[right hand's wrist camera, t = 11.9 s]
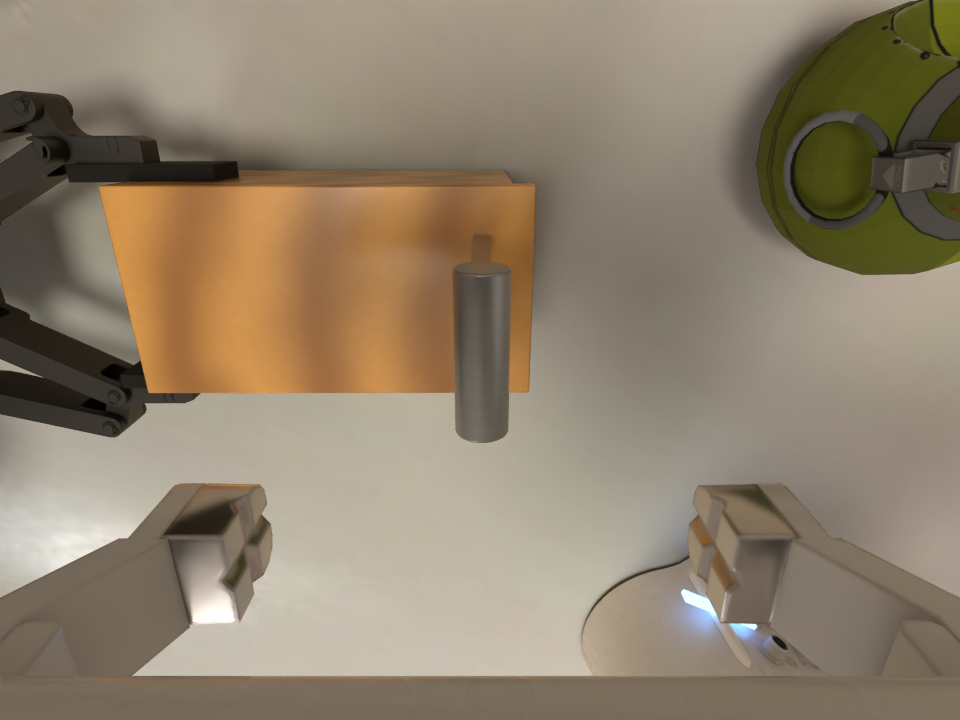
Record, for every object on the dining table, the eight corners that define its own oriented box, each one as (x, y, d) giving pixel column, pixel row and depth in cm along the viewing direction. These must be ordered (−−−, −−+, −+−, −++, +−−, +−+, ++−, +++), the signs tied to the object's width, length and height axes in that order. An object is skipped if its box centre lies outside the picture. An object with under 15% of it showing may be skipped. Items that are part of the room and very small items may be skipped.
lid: (534, 183, 24) (562, 208, 16) (527, 383, 28) (548, 490, 19) (112, 183, 24) (-79, 209, 16) (159, 384, 28) (23, 491, 19)
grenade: (948, 3, 29) (1369, -115, 15) (921, 231, 34) (1230, 300, 20) (712, 48, 30) (912, -25, 16) (716, 265, 35) (876, 355, 21)
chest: (504, 169, 33) (513, 182, 24) (502, 324, 36) (509, 383, 28) (208, 170, 33) (113, 183, 24) (235, 324, 36) (160, 384, 28)
